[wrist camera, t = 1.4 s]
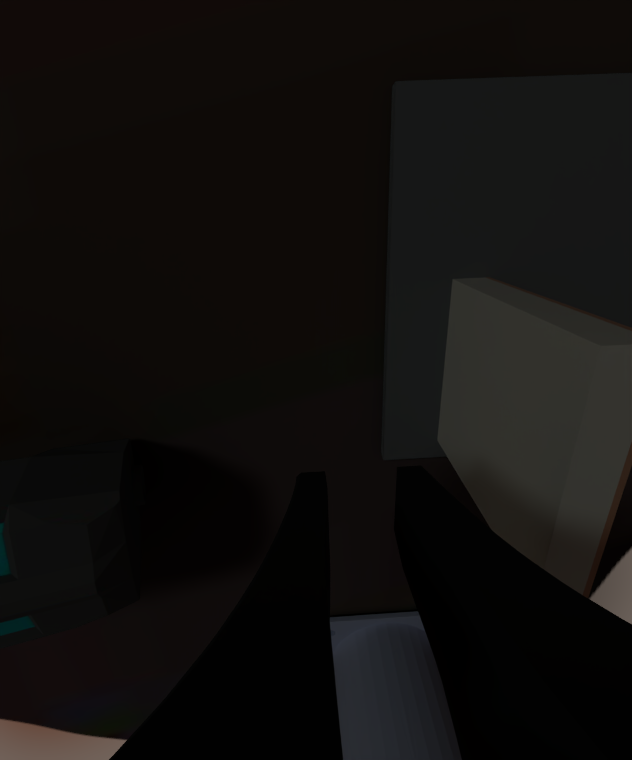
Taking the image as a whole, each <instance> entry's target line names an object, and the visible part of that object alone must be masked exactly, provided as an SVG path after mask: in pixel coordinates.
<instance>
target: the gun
mask: <svg viewBox="0 0 632 760" xmlns="http://www.w3.org/2000/svg"><path fill="white" fill-rule="evenodd" d="M145 504H146V489H145V478H144V471H143V466H142V464H141V465H135V464H134V458H133V452H132V446H131V442H130V439H122V440H115V441H107V442H100V443H93V444H86V445H79V446H71V447H64V448H57V449H51V450H48V451H46V452H43V453H40V454H37V455H35V456H32V457H27V458H20V459H13V460H6V461H0V649H1V648H4V647H8V646H12V645H15V644H19V643H23V642H26V641H30V640H34V639H37V638H41V637H44V636H48V635H52V634H55V633H59V632H62V631H66V630H69V629H73V628H76V627H79V626H82V625H84V624H87V623H89V622H92V621H94V620H97V619H99V618H102V617H104V616H107V615H109V614H111V613H113V612H115V611H117V610H119V609H121V608H123V607H125V606H128V605H130V604H132V603H134V602H135V601H137V600H139V599H140V569H141V532H140V505H145Z"/></svg>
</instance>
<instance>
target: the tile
mask: <svg viewBox="0 0 632 760" xmlns="http://www.w3.org/2000/svg"><path fill="white" fill-rule="evenodd" d="M437 441H438V442H439V444H440V446H441V447H442V449H443V451H444V452H445V454H446V456H447V457H448V459H449V461H450V462H451V464H452V465H453V467H454V469H455V470H456V472H457V474H458V475H459V477H460V479H461V480H462V482H463V484H464V485H465V487H466V489H467V490H468V492H469V493H470V495H471V497H472V498H473V500H474V502H475V503H476V505H477V507H478V508H479V510H480V512H481V513H482V515H483V517H484V518H485V520H486V522H487V523H488V525H489V526H490V528H491V530H492V531H493V532H495V533H496V534H497V535H498V536H500V537H501V538H502V539H503V540H505V541H506V542H507V543H509V544H510V545H511V546H512V547H514V548H515V549H516V550H517V551H519V552H520V553H521V554H523V555H524V556H526V557H527V558H528V559H530V560H531V561H532V562H534V563H535V564H537V565H538V566H540V567H541V568H542V569H544V570H545V571H547V572H548V573H550V574H551V575H553V576H554V577H556V578H557V579H558V580H560V581H561V582H563V583H564V584H566V585H567V586H569V587H571V588H572V589H574V590H575V591H577V592H578V593H580V594H581V595H583V596H585V597H586V598H588V597H589V594H590V591H591V588H592V585H593V581H594V578H595V575H596V572H597V569H598V566H599V563H600V560H601V557H602V554H603V551H604V548H605V545H606V542H607V539H608V536H609V533H610V530H611V527H612V524H613V521H614V518H615V515H616V512H617V509H618V506H619V502H620V499H621V496H622V493H623V490H624V487H625V484H626V481H627V478H628V475H629V472H630V469H631V466H632V328H631V327H628V326H625V325H622V324H620V323H617V322H614V321H611V320H608V319H606V318H603V317H600V316H597V315H594V314H592V313H589V312H586V311H583V310H580V309H578V308H575V307H572V306H569V305H566V304H563V303H561V302H558V301H555V300H552V299H549V298H547V297H544V296H541V295H538V294H535V293H533V292H530V291H527V290H524V289H521V288H519V287H516V286H513V285H510V284H507V283H505V282H502V281H499V280H496V279H493V278H490V277H484V278H463V279H453V280H452V290H451V301H450V311H449V322H448V332H447V343H446V354H445V364H444V375H443V385H442V396H441V407H440V417H439V428H438V438H437Z"/></svg>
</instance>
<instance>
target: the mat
mask: <svg viewBox="0 0 632 760" xmlns="http://www.w3.org/2000/svg"><path fill="white" fill-rule="evenodd" d="M484 277H490V278H493V279H496V280H499V281H502V282H505V283H507V284H510V285H513V286H516V287H519V288H521V289H524V290H527V291H530V292H533V293H535V294H538V295H541V296H544V297H547V298H549V299H552V300H555V301H558V302H561V303H563V304H566V305H569V306H572V307H575V308H578V309H580V310H583V311H586V312H589V313H592V314H594V315H597V316H600V317H603V318H606V319H608V320H611V321H614V322H617V323H620V324H622V325H625V326H628V327H631V328H632V73H618V74H589V75H561V76H532V77H504V78H475V79H447V80H418V81H396V82H395V83H394V85H393V86H392V113H391V146H390V180H389V213H388V246H387V280H386V313H385V346H384V379H383V413H382V446H381V454H382V457H383V460H395V459H412V458H429V457H446V454H445V452H444V451H443V449H442V447H441V446H440V444H439V442H438V441H437V438H438V428H439V417H440V407H441V396H442V385H443V375H444V364H445V354H446V343H447V332H448V322H449V311H450V301H451V290H452V280H453V279H463V278H484Z"/></svg>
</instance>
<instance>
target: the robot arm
mask: <svg viewBox="0 0 632 760" xmlns="http://www.w3.org/2000/svg"><path fill="white" fill-rule="evenodd" d="M394 531H395V535H396V540H397V544H398V549H399V553H400V557H401V562H402V566H403V569H404V572H405V575H406V578H407V581H408V584H409V587H410V590H411V592H412V595H413V598H414V601H415V604H416V607H417V610H418V611H413V612H398V613H384V614H369V615H355V616H341V617H330V552H329V523H328V495H327V483H326V476H325V471H324V472H307V473H300V474H299V475H298V476H297V479H296V485H295V489H294V492H293V495H292V498H291V501H290V504H289V507H288V510H287V512H286V514H285V517H284V519H283V521H282V524H281V526H280V528H279V531H278V533H277V535H276V537H275V539H274V541H273V543H272V545H271V547H270V549H269V551H268V553H267V555H266V557H265V559H264V561H263V563H262V564H261V566H260V568H259V570H258V571H257V573H256V575H255V577H254V578H253V580H252V582H251V583H250V585H249V587H248V588H247V590H246V591H245V593H244V595H243V596H242V598H241V599H240V601H239V602H238V604H237V605H236V607H235V608H234V610H233V611H232V613H231V614H230V616H229V617H228V618H227V620H226V621H225V623H224V624H223V626H222V627H221V629H220V630H219V631H218V633H217V634H216V635H215V637H214V638H213V640H212V641H211V642H210V644H209V645H208V646H207V647H206V649H205V650H204V651H203V653H202V654H201V655H200V656H199V657H198V659H197V660H196V661H195V662H194V664H193V665H192V666H191V667H190V669H189V670H188V671H187V672H186V674H185V675H184V676H183V677H182V679H181V680H180V681H179V682H178V683H177V685H176V686H175V687H174V688H173V690H172V691H171V692H170V693H169V694H168V696H167V697H166V698H165V699H164V700H163V701H162V703H161V704H160V705H159V706H158V707H157V708H156V709H155V710H154V711H153V713H152V714H151V715H150V716H149V717H148V718H147V719H146V720H145V721H144V722H143V723H142V725H141V726H140V727H139V728H138V729H137V730H136V731H135V732H134V733H133V734H132V735H131V737H130V738H129V739H128V740H127V741H126V742H125V743H124V744H123V745H122V746H121V747H120V749H119V750H118V751H117V752H116V753H115V754H114V755H113V756H112V757H111V758H110V759H109V760H632V624H630V623H628V622H626V621H625V620H623V619H621V618H619V617H618V616H616V615H614V614H613V613H611V612H609V611H608V610H606V609H604V608H603V607H601V606H600V605H598V604H596V603H595V602H593V601H591V600H590V599H588V598H586V597H585V596H583V595H581V594H580V593H578V592H577V591H575V590H574V589H572V588H571V587H569V586H567V585H566V584H564V583H563V582H561V581H560V580H558V579H557V578H556V577H554V576H553V575H551V574H550V573H548V572H547V571H545V570H544V569H542V568H541V567H540V566H538V565H537V564H535V563H534V562H532V561H531V560H530V559H528V558H527V557H526V556H524V555H523V554H521V553H520V552H519V551H517V550H516V549H515V548H514V547H512V546H511V545H510V544H509V543H507V542H506V541H505V540H503V539H502V538H501V537H500V536H498V535H497V534H496V533H495V532H493V531H492V530H491V529H490V528H489V527H487V526H486V525H485V524H484V523H483V522H481V521H480V520H479V519H478V518H477V517H476V516H475V515H473V514H472V513H471V512H470V511H469V510H468V509H467V508H465V507H464V506H463V505H462V504H461V503H460V502H459V501H458V500H457V499H456V498H455V497H453V496H452V495H451V494H450V493H449V492H448V491H447V490H446V489H445V488H444V487H443V486H442V485H441V484H440V483H439V482H438V481H437V480H436V479H434V478H433V477H432V476H431V475H430V474H429V473H428V472H427V471H426V470H425V469H424V468H423V467H422V466H407V467H397V481H396V501H395V521H394Z"/></svg>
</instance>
